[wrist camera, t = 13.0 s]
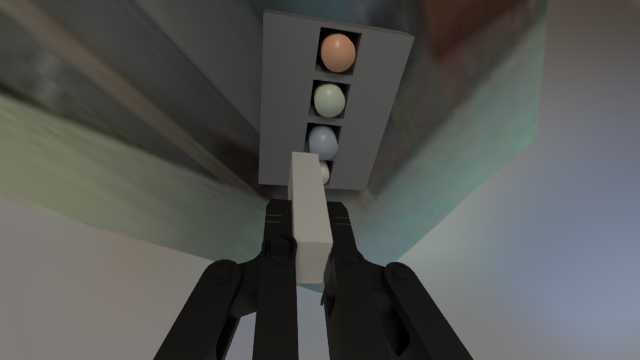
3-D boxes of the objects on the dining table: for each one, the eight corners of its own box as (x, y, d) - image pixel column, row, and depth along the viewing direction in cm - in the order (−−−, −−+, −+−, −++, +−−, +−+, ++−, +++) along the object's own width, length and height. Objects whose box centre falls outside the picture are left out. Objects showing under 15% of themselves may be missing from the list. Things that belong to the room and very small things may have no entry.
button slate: (306, 146, 42) (308, 159, 39) (310, 122, 40) (311, 134, 37) (332, 148, 43) (335, 161, 40) (336, 125, 41) (340, 136, 38)
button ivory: (301, 172, 47) (302, 185, 44) (304, 152, 45) (305, 164, 42) (324, 174, 48) (327, 187, 45) (328, 154, 45) (331, 166, 42)
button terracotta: (317, 62, 36) (319, 69, 34) (322, 28, 34) (325, 33, 31) (346, 66, 37) (351, 74, 34) (353, 33, 35) (358, 39, 32)
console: (260, 169, 47) (258, 183, 44) (265, 8, 33) (263, 12, 30) (360, 176, 50) (365, 190, 47) (403, 31, 36) (414, 37, 33)
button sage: (311, 105, 40) (313, 115, 37) (315, 77, 38) (317, 86, 35) (337, 108, 41) (341, 118, 38) (343, 81, 38) (347, 89, 35)
